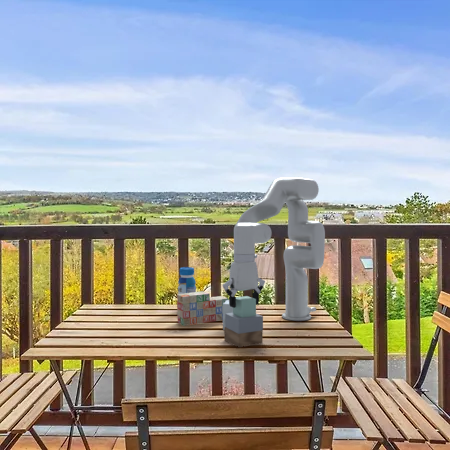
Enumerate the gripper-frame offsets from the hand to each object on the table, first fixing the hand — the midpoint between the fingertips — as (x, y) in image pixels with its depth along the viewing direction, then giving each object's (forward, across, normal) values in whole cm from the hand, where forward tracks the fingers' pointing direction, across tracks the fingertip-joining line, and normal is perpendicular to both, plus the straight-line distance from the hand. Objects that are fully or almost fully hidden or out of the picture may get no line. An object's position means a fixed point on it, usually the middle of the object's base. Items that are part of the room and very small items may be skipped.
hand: (244, 305), depth 166 cm
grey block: (+8, 0, 0) cm, 8 cm away
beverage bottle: (+13, -2, -54) cm, 56 cm away
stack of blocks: (+14, 0, -34) cm, 36 cm away
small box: (+13, -5, -18) cm, 23 cm away
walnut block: (+13, 0, 0) cm, 13 cm away
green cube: (+3, 0, 0) cm, 3 cm away
